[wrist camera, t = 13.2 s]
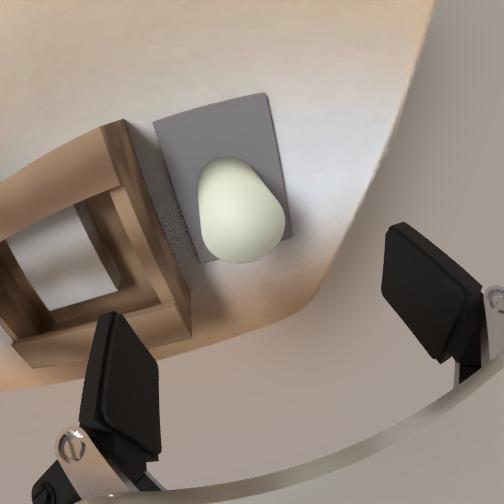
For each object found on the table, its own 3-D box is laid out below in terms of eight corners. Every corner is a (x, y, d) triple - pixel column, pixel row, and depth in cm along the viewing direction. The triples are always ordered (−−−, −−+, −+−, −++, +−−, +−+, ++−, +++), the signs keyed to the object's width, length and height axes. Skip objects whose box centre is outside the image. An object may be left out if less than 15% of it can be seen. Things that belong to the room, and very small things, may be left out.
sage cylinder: (191, 163, 19) (193, 197, 13) (252, 151, 20) (281, 180, 14) (203, 217, 21) (210, 271, 16) (259, 206, 22) (287, 253, 16)
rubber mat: (153, 121, 17) (152, 122, 17) (263, 92, 18) (265, 92, 17) (200, 260, 24) (200, 263, 24) (290, 234, 24) (292, 237, 24)
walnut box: (-28, 206, 16) (-61, 233, 11) (123, 118, 17) (100, 126, 12) (46, 330, 24) (32, 368, 20) (189, 292, 25) (192, 338, 21)
